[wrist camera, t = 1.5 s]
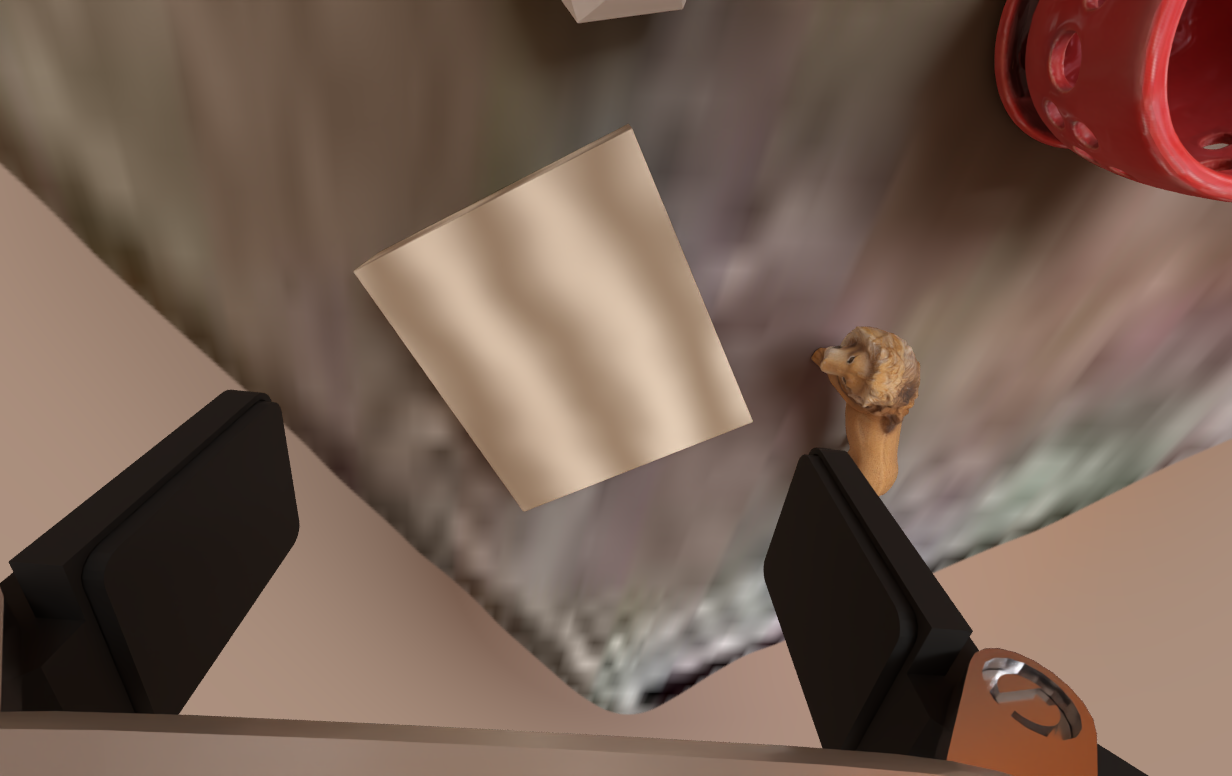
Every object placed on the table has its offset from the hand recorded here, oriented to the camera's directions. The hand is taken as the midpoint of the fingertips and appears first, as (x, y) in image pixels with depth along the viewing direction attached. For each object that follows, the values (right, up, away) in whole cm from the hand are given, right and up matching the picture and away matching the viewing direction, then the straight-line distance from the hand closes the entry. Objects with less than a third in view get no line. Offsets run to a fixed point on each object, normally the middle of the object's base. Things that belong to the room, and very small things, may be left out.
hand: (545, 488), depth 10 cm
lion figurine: (+16, +2, +28) cm, 32 cm away
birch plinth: (-1, +6, +25) cm, 26 cm away
